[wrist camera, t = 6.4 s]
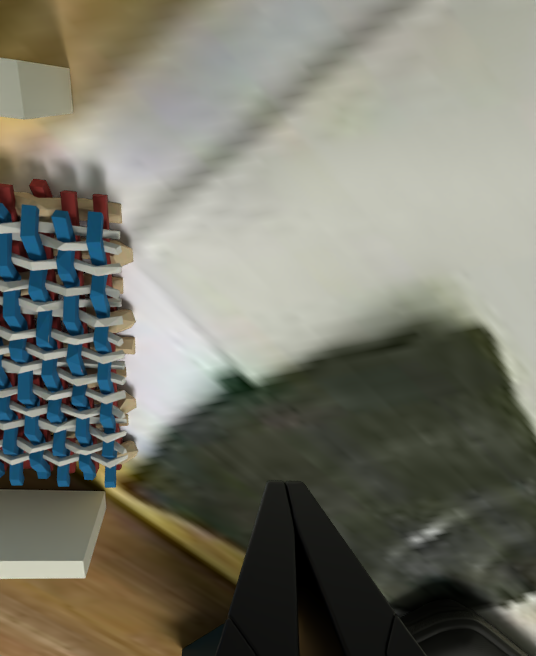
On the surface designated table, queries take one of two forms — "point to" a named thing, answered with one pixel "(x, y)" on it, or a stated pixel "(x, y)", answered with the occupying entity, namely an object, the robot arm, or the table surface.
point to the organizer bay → (44, 505)
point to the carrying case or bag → (456, 631)
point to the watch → (205, 644)
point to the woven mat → (62, 336)
